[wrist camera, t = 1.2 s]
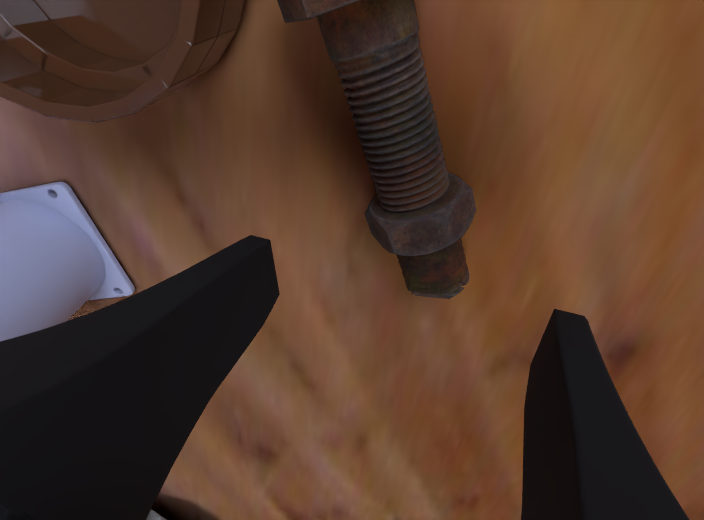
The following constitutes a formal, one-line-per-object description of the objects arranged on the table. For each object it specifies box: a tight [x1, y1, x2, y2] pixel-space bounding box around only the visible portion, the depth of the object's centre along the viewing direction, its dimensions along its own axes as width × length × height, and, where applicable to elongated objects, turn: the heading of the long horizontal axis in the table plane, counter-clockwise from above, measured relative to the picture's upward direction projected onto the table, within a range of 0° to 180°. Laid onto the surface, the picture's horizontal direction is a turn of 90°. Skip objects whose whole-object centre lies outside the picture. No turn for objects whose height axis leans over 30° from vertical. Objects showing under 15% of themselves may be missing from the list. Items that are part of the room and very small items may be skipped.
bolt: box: [277, 0, 476, 299], centre depth 18 cm, size 6×5×15 cm
